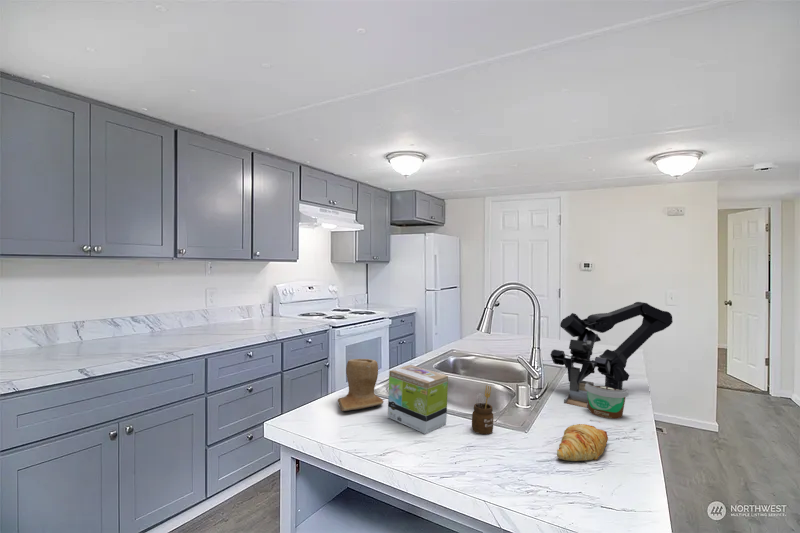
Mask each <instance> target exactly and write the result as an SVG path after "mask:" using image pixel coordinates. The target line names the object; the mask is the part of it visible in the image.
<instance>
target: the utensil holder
mask: <svg viewBox="0 0 800 533" xmlns="http://www.w3.org/2000/svg"><path fill="white" fill-rule="evenodd" d="M491 392H492V386H490V385H487V384H485V391H484V394H482V393H480V395H478V394H476V396H475V401H476V402H475V403H474V406H473V411H472V415H471V430H472V431H473V432H474V433H476V434H478V435H479V434H480V435H489V434H492V433H493V431H494V412H493V406H492V405H491V404H489V403H488V399H489V398H491ZM479 396H481V397H482V399H481V402H477V401H478V400H477V399H478V398H480V397H479ZM485 398H486V399H485ZM483 399H485V402H483Z"/></svg>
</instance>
